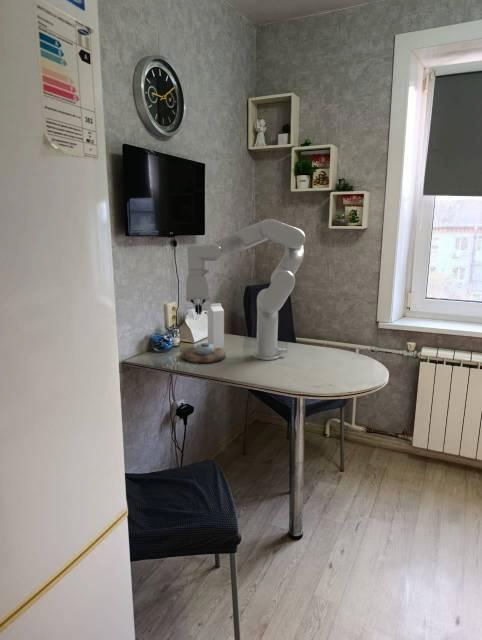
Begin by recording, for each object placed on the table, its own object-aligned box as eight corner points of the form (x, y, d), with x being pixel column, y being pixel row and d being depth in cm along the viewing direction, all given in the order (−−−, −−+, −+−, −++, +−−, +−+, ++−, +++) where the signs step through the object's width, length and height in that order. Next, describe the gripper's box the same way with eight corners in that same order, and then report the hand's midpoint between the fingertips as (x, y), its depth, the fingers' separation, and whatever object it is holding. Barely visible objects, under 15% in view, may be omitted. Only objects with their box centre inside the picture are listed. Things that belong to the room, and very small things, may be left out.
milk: (207, 346, 217) (207, 303, 212) (218, 344, 220) (218, 302, 215) (213, 349, 212) (213, 304, 207) (224, 347, 215) (224, 303, 210)
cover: (213, 350, 203) (213, 341, 202) (214, 354, 195) (214, 346, 194) (196, 350, 202) (196, 342, 201) (196, 355, 194) (196, 346, 194)
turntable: (224, 349, 209) (224, 346, 209) (227, 362, 190) (227, 358, 190) (182, 350, 208) (182, 347, 207) (181, 362, 188) (180, 359, 188)
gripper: (213, 271, 195) (215, 311, 199) (180, 272, 193) (182, 312, 197) (214, 273, 187) (215, 314, 191) (179, 274, 186) (181, 316, 190)
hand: (198, 313), depth 194 cm, fingers closed
